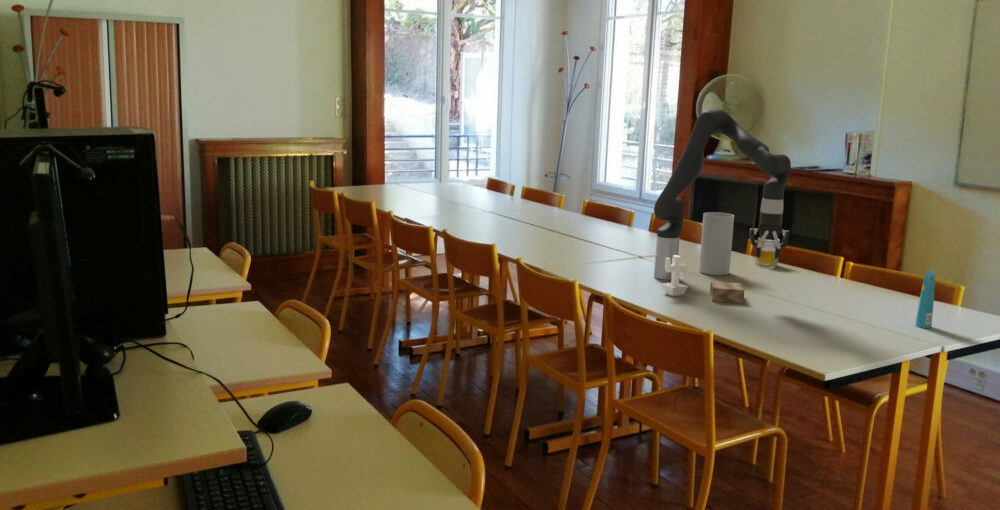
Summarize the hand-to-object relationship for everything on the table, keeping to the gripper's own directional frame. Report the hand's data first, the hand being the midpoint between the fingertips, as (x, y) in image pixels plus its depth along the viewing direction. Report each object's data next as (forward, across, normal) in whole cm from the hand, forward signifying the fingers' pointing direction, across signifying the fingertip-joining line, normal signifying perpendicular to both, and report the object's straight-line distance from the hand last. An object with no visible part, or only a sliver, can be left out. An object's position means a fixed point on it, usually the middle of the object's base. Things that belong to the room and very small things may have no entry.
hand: (767, 257), depth 297 cm
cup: (+18, +13, +75) cm, 78 cm away
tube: (+18, +50, -14) cm, 55 cm away
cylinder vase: (+18, -12, +53) cm, 57 cm away
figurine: (+18, -31, +10) cm, 37 cm away
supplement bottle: (+4, 0, 0) cm, 4 cm away
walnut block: (+18, -12, +8) cm, 23 cm away
